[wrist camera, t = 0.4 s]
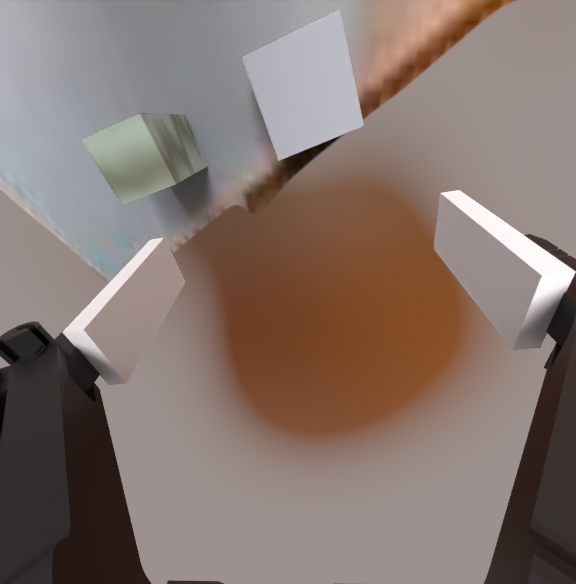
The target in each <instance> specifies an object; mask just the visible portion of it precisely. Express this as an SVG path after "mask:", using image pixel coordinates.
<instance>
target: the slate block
mask: <svg viewBox="0 0 576 584" xmlns="http://www.w3.org/2000/svg"><path fill="white" fill-rule="evenodd" d="M242 60H243V63H244V66H245V68H246V71H247V74H248V77H249V80H250V82H251V85H252V88H253V91H254V94H255V96H256V99H257V102H258V105H259V108H260V111H261V113H262V116H263V119H264V122H265V125H266V127H267V130H268V133H269V136H270V139H271V141H272V144H273V147H274V150H275V153H276V155H277V158H278V161H279V160H282V159H284V158H287V157H289V156H292V155H294V154H297V153H299V152H301V151H304V150H306V149H309V148H311V147H314V146H316V145H319V144H321V143H323V142H326V141H328V140H331V139H333V138H336V137H338V136H341V135H343V134H345V133H348V132H350V131H353V130H355V129H358V128H360V127H362V126H364V124H363V119H362V114H361V109H360V104H359V99H358V95H357V90H356V85H355V80H354V75H353V70H352V65H351V61H350V56H349V51H348V46H347V41H346V36H345V31H344V27H343V22H342V17H341V12H340V9H338V10H336V11H334V12H332V13H330V14H328V15H326V16H324V17H322V18H320V19H318V20H316V21H314V22H312V23H310V24H308V25H306V26H304V27H302V28H300V29H298V30H296V31H294V32H292V33H290V34H287V35H285V36H283V37H281V38H279V39H277V40H275V41H273V42H271V43H269V44H267V45H265V46H263V47H261V48H259V49H257V50H255V51H253V52H251V53H249V54H247V55H245V56H243V57H242Z"/></svg>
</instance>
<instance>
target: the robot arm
mask: <svg viewBox="0 0 576 584" xmlns="http://www.w3.org/2000/svg"><path fill="white" fill-rule="evenodd" d="M434 250H435V251H436V252H437V254H438V255H439V256H440V257H441V259H442V260H443V261H444V262H445V264H446V265H447V266H448V268H449V269H450V270H451V272H452V273H453V274H454V275H455V277H456V278H457V279H458V280H459V282H460V283H461V284H462V286H463V287H464V288H465V289H466V291H467V292H468V293H469V295H470V296H471V297H472V298H473V300H474V301H475V302H476V304H477V305H478V306H479V307H480V309H481V310H482V311H483V312H484V314H485V315H486V316H487V318H488V319H489V320H490V321H491V323H492V324H493V325H494V327H495V328H496V329H497V330H498V332H499V333H500V334H501V335H502V337H503V338H504V339H505V341H506V342H507V343H508V345H509V346H510V347H511V348H512V350H517V349H528V348H540V347H541V344H542V342H543V340H544V338H545V336H546V334H547V333H548V334H549V335H550V336H551V337H552V338H553V339H554V340H555V341H556V342H557V343H556V345H555V347H554V349H553V351H552V352H551V354H550V356H549V358H548V360H547V362H546V364H545V366H544V368H546V369H547V371H546V374H545V378H544V382H543V385H542V388H541V392H540V395H539V399H538V402H537V406H536V409H535V413H534V416H533V419H532V424H531V427H530V430H529V434H528V437H527V440H526V444H525V447H524V451H523V454H522V458H521V461H520V465H519V468H518V471H517V475H516V478H515V482H514V485H513V489H512V492H511V496H510V499H509V503H508V506H507V510H506V513H505V516H504V520H503V523H502V527H501V531H500V534H499V537H498V541H497V544H496V548H495V551H494V555H493V558H492V561H491V565H490V568H489V571H488V574H487V577H486V580H485V582H484V584H576V259H575V258H573V257H572V256H568V254H567V253H565V252H564V251H562V250H561V249H558V247H556V246H555V245H553V244H552V243H550V242H549V241H547V240H545V239H542V238H539V237H536V236H533V235H530V234H528V235H523V234H521V233H520V232H518V231H517V230H515V229H514V228H513V227H511V226H510V225H508V224H507V223H505V222H504V221H503V220H501V219H500V218H498V217H497V216H495V215H494V214H492V213H491V212H490V211H488V210H487V209H485V208H484V207H483V206H481V205H480V204H478V203H477V202H475V201H474V200H473V199H471V198H470V197H468V196H467V195H465V194H464V193H462V192H461V191H460V190H457V191H451V192H444V193H441V194H440V202H439V210H438V218H437V226H436V234H435V242H434ZM184 284H185V280H184V278H183V276H182V274H181V272H180V270H179V268H178V265H177V263H176V261H175V259H174V257H173V255H172V253H171V251H170V249H169V246H168V244H167V242H166V240H165V238H159V239H152V240H150V241H149V242H148V243H147V244H146V245H145V246H144V247H143V248H142V249H141V250H140V251H139V252H138V253H137V254H136V255H135V256H134V257H133V259H132V260H131V261H130V262H129V263H128V264H127V265H126V266H125V267H124V268H123V269H122V270H121V271H120V272H119V273H118V274H117V275H116V276H115V277H114V278H113V279H112V281H111V282H110V283H109V284H108V285H107V286H106V287H105V288H104V289H103V290H102V291H101V292H100V293H99V294H98V295H97V296H96V297H95V298H94V299H93V300H92V301H91V302H90V303H89V304H88V306H86V307H85V308H84V309H83V311H82V312H81V313H80V314H79V315H78V316H77V317H76V318H75V319H74V320H73V321H72V322H71V323H70V324H69V325H68V326H67V327H66V328H65V329H64V330H63V331H62V333H61V334H60V335H59V336H58V337H57V338H56V339H55V340H54V339H53V338H52V337H51V336H50V334H48V332H47V331H46V330H45V329H44V328H43V327H42V326H41V325H40V324H39V323H38V322H29V323H25V324H22V325H19V326H17V327H15V328H13V329H11V330H9V331H8V332H6V333H5V334H3V335H2V336H0V356H1V357H2V358H3V359H4V360H5V361H7V362H8V363H9V364H10V366H7V367H4V368H2V369H0V584H151V582H150V581H149V579H148V578H147V577H146V575H145V573H144V571H143V568H142V566H141V562H140V558H139V553H138V549H137V545H136V541H135V537H134V532H133V528H132V524H131V520H130V515H129V512H128V507H127V503H126V499H125V495H124V490H123V486H122V482H121V477H120V473H119V469H118V465H117V461H116V456H115V452H114V448H113V444H112V440H111V435H110V431H109V427H108V423H107V419H106V414H105V410H104V406H103V401H102V397H101V393H100V389H99V388H98V387H97V386H96V384H95V383H94V382H95V381H96V379H97V378H98V376H99V375H100V376H101V377H102V378H103V379H104V380H105V381H106V382H107V384H108V385H112V384H125V383H127V382H128V381H129V379H130V378H131V376H132V374H133V372H134V371H135V369H136V367H137V365H138V364H139V362H140V360H141V359H142V357H143V355H144V353H145V352H146V350H147V348H148V346H149V345H150V343H151V341H152V339H153V338H154V336H155V334H156V333H157V331H158V329H159V327H160V326H161V324H162V322H163V320H164V319H165V317H166V315H167V313H168V311H169V310H170V308H171V307H172V305H173V303H174V301H175V300H176V298H177V296H178V294H179V293H180V291H181V289H182V287H183V286H184ZM167 584H223V583H221V582H217V581H168V582H167Z"/></svg>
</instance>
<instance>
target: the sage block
mask: <svg viewBox="0 0 576 584" xmlns="http://www.w3.org/2000/svg"><path fill="white" fill-rule="evenodd" d="M81 141H82V142H83V144H84V145H85V147H86V149H87V150H88V152H89V153H90V155H91V156H92V158H93V160H94V161H95V163H96V164H97V166H98V168H99V169H100V171H101V172H102V174H103V175H104V177H105V179H106V180H107V182H108V183H109V185H110V187H111V188H112V190H113V191H114V193H115V194H116V196H117V198H118V199H119V201H120V202H121V204H122V205H124V204H127V203H129V202H132V201H134V200H137V199H140V198H142V197H145V196H147V195H150V194H152V193H155V192H158V191H160V190H163V189H165V188H168V187H170V186H173V185H176V184H177V183H179V182H181V181H183V180H184V179H186V178H188V177H190V176H191V175H193V174H195V173H197V172H198V171H200V170H202V169H204V168H205V167H207V164H206V161H205V159H204V157H203V155H202V153H201V150H200V148H199V146H198V144H197V141H196V139H195V137H194V135H193V133H192V130H191V128H190V126H189V124H188V121H187V119H186V117H185V115H174V114H147V113H139V114H137V115H134V116H132V117H130V118H128V119H125V120H123V121H121V122H119V123H117V124H114V125H112V126H110V127H108V128H105V129H103V130H101V131H99V132H97V133H94V134H92V135H90V136H88V137H85V138H83V139H81Z"/></svg>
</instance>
